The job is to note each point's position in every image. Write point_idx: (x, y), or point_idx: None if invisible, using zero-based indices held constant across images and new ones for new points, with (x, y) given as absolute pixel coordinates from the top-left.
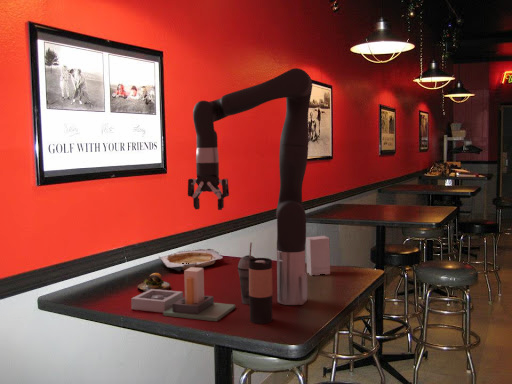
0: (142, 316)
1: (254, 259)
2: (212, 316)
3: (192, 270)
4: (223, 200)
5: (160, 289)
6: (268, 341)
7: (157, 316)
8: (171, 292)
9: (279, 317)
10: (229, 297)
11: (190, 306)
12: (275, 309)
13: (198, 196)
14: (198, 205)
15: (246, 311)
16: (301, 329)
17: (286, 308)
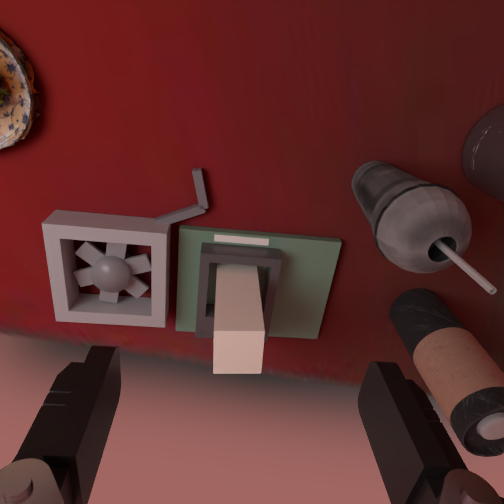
0: (131, 339)
1: (480, 414)
2: (304, 332)
3: (239, 366)
4: (457, 456)
5: (22, 126)
6: (430, 395)
7: (166, 332)
8: (132, 243)
9: (457, 283)
10: (299, 140)
11: None
12: None
13: (55, 488)
14: (109, 392)
15: (373, 259)
16: (498, 337)
17: (482, 215)
